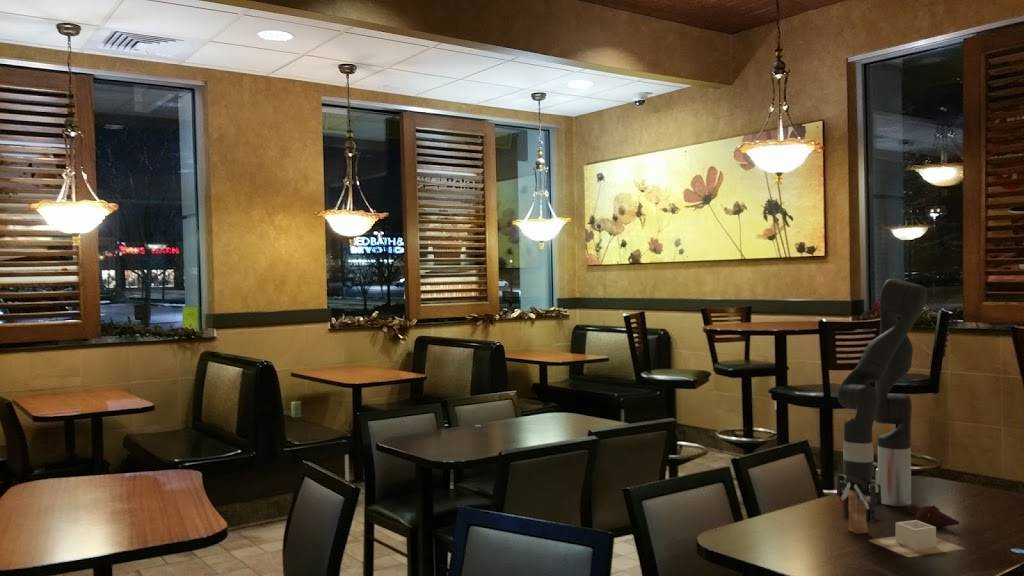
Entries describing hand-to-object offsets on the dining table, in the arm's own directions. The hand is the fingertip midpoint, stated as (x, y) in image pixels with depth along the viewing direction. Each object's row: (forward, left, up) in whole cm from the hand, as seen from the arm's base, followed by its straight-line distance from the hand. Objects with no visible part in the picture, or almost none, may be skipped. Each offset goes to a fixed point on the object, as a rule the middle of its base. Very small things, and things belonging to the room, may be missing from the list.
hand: (858, 518), depth 226 cm
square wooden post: (0, 0, -5) cm, 5 cm away
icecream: (+3, +22, -5) cm, 22 cm away
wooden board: (+14, +6, -5) cm, 16 cm away
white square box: (+14, +6, -4) cm, 15 cm away
